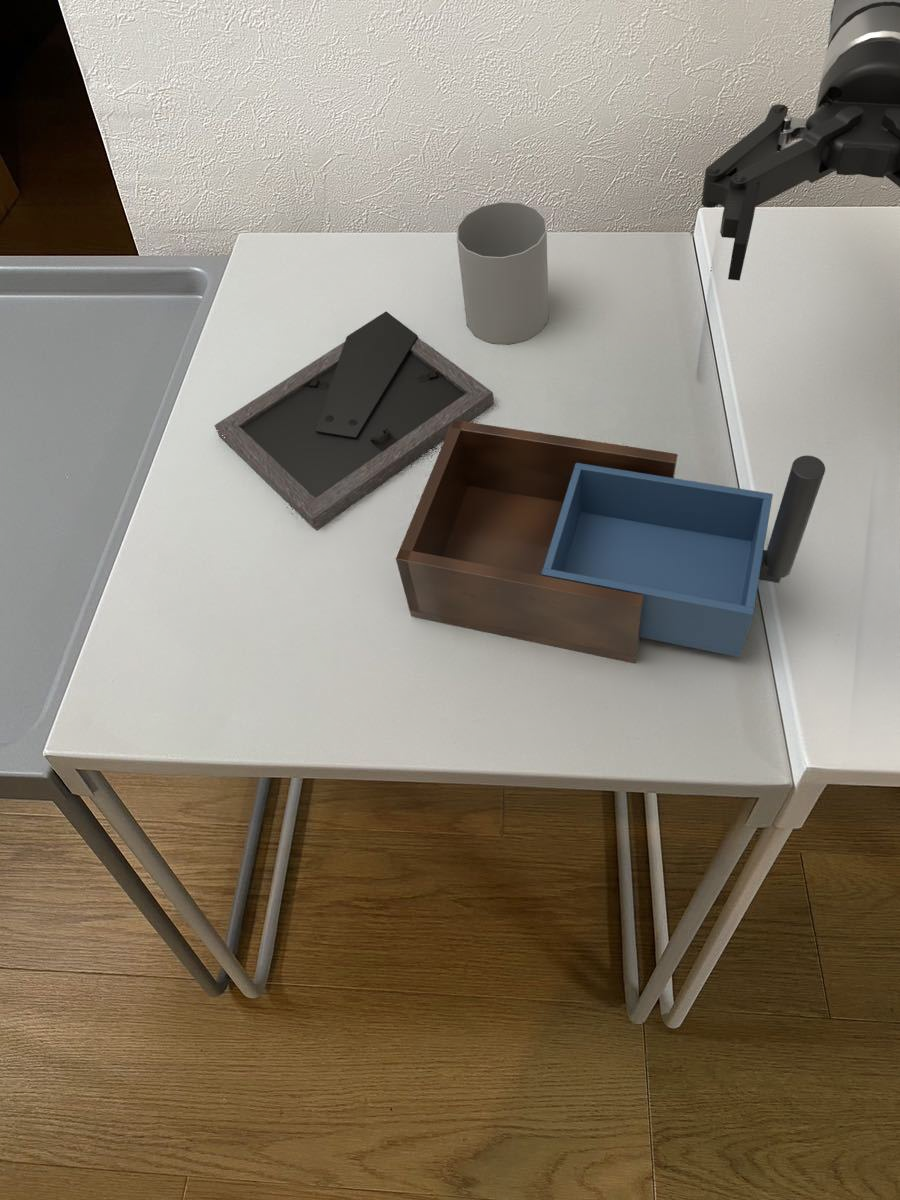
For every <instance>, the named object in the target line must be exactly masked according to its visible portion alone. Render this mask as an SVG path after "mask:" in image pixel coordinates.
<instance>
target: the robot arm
mask: <svg viewBox="0 0 900 1200" xmlns="http://www.w3.org/2000/svg"><path fill="white" fill-rule="evenodd" d="M823 60H824V61H823V64H822V70H821V76H820V82H819V88H818V92H817V98H816V103H815V110H814V112H813V113H812V114H811V115H809V116H808V117H807V118H799V117H792V116H790V115H788V111H789V108H788V106H787V105H785V104H781V103H780V104H774V105H772V106H771V107H770V109H769V111H768V113H767V114H766V115H767V116H766V118H765V120H763V121H762V123H760V124H759V125H758V126H757V127H755V128H754V129H752V130H751V131H750V132H749V133H748V134H747V135H745V136H744V137H743V138H741V139H740V140H739V141H738V142H737V143H735V144H734V145H733V146H731V148H729V149H727V151H725V152H724V153H723V154H722V155H721V156H719V157H718V158H717V159H715V160H714V161H713V162H712V163H711V164H710V165H708V166H707V167H706V168H705V171H704V177H703V186H702V192H701V193H702V194H701V205H702V206H703V207H705V208H710V209H712V208H716V207H717V206H722V207H723V211H722V217H721V223H720V230H719V234H720V236H721V238H727V239H734V241H733V246H732V251H731V257H730V263H729V270H728V275H727V280H731V281H741V276H742V271H743V267H744V263H745V259H746V253H747V250H748V245H749V240H750V237H751V236H750V235H751V231H752V226H753V222H754V216H755V211H756V207H758V206H761V205H762V204H764V203H766V202H768V201H769V200H772V199H774V198H776V197H777V196H779V195H782V194H783V193H785V192H787V191H789V190H791V189H793V188H795V187H797V186H798V185H800V184H802V183H804V182H806V181H807V182H809V183H811V184H813V183H815V182H817V181H819V180H821V179H823V178H825V177H827V176H829V175H830V174H832V173H834V172H836V175H839V176H855V175H859V176H860V175H861V176H865V177H870V178H879V179H881V178H882V179H884V178H887V179H888V180H889V181H891V182H892V183H893V184H895V186H898V187H899V188H900V0H833V4H832V8H831V11H830V18H829V34H828V42H827V48H826V51H825V54H824V59H823ZM795 140H799V141H796V142H795V143H793V144H791V143H792V142H793V141H795ZM789 144H791V145H789ZM788 145H789V146H788Z"/></svg>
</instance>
